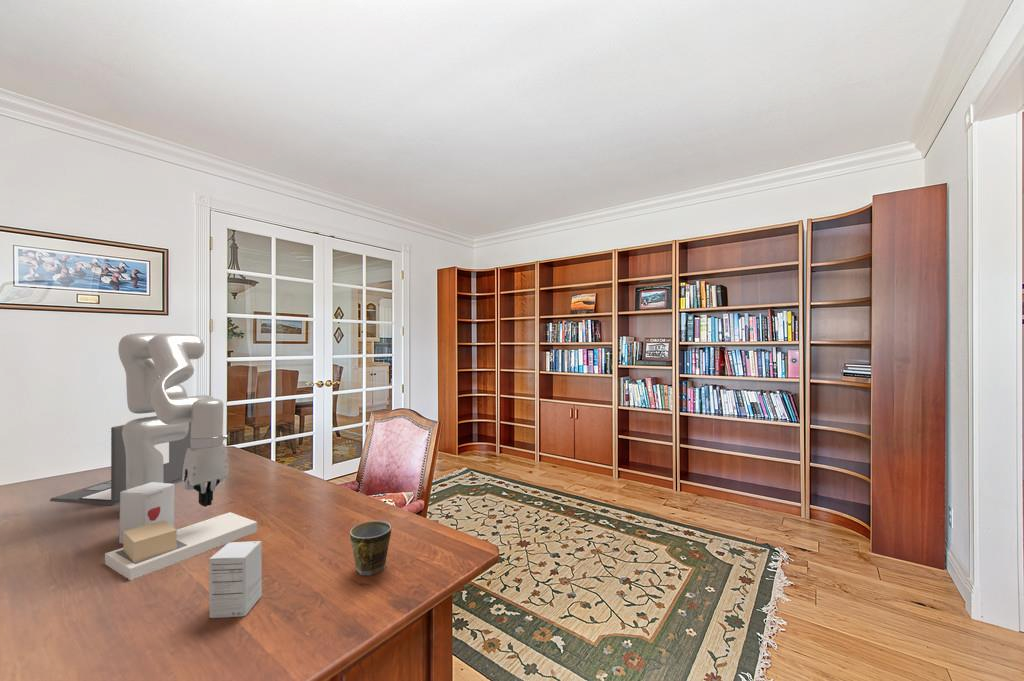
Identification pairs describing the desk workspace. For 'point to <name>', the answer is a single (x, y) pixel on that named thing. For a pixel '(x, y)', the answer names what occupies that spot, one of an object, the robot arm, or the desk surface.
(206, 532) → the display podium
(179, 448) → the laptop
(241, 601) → the supplement box
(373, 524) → the ceramic cup
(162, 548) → the kraft carton
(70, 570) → the desk surface
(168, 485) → the supplement box
